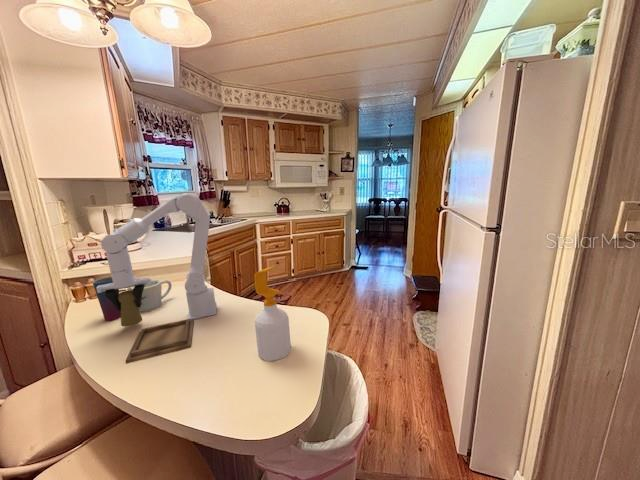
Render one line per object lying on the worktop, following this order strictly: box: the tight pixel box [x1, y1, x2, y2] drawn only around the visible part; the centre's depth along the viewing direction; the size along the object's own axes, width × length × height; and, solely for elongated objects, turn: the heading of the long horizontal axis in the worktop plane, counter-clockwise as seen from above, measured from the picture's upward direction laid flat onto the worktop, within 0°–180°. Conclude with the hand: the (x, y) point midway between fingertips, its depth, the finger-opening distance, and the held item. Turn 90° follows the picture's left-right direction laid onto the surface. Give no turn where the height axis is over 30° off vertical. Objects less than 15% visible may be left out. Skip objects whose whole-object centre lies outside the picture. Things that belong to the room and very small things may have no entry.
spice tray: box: [125, 318, 195, 364], centre depth 82 cm, size 16×16×2 cm
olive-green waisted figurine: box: [118, 290, 143, 327], centre depth 89 cm, size 6×6×11 cm
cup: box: [92, 275, 121, 322], centre depth 97 cm, size 7×7×15 cm
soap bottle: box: [253, 265, 292, 362], centre depth 71 cm, size 9×9×25 cm
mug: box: [129, 278, 172, 312], centre depth 106 cm, size 10×15×10 cm
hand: (129, 307), depth 89 cm, fingers closed on olive-green waisted figurine, 5 cm apart
